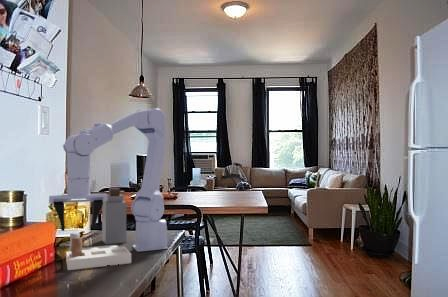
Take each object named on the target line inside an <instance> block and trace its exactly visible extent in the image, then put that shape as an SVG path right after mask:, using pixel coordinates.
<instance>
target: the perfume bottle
mask: <svg viewBox="0 0 448 297" xmlns="http://www.w3.org/2000/svg"><path fill="white" fill-rule="evenodd" d="M124 197H125V195H123V194H121V188H116V187H115V188H108V194H107V201H103V205H102V208H101V209H102V210H101V211H102V212H101V213H102V214H101V215H102V216H101V218H102V219H101V220H102V221H101V225H102V226H101V228H102V229H101V233H102V234H101V241H102V243H104V244H105V245H116V244H122V243H127V202H126V201H125V200H124Z"/></svg>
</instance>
